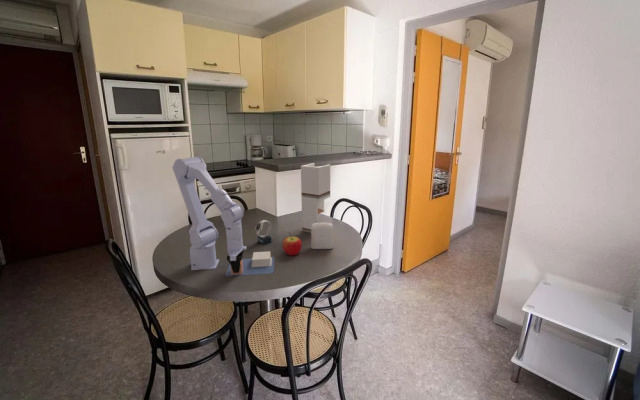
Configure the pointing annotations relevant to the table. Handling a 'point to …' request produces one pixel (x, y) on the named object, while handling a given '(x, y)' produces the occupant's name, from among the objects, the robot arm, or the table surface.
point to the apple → (292, 245)
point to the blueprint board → (253, 268)
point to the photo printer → (322, 235)
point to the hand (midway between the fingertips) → (237, 269)
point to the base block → (261, 258)
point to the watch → (263, 238)
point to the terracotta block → (240, 268)
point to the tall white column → (313, 193)
